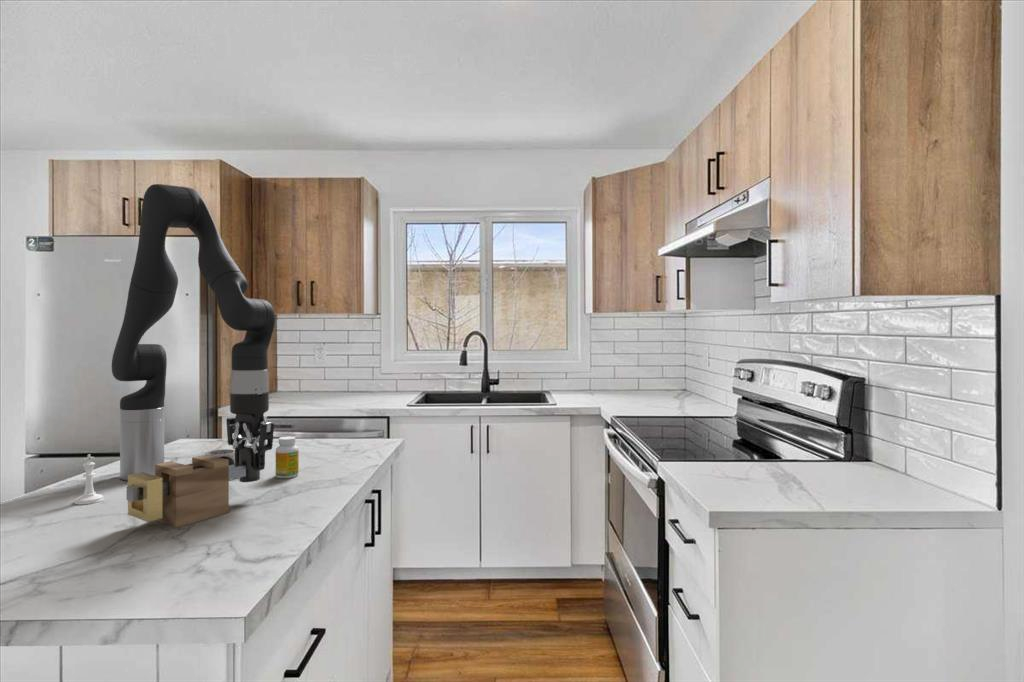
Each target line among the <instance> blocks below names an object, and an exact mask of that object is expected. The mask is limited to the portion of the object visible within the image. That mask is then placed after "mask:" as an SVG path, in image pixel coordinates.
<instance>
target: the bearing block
mask: <svg viewBox="0 0 1024 682" xmlns="http://www.w3.org/2000/svg"><path fill="white" fill-rule="evenodd" d="M155 476H158V477H161V478H162V479H166V478H169V494H166V495H162V518H161V519H157V520H156V521H159V522H161V523H163V524H164V523H165V524H166V525H169V526H172V527H175V528H179V527H182V526H185V525H190V524H193V523H197V522H199V521H203V520H206V519H211V518H215V517H217V516H221V515H224V514H229V513H230V512H229V510H230V509H229V505H230V504H229V501H230V499H229V492H230V491H229V489H230V488H229V487H230V486H229V485H230V484H229V482H230V480H229V460H228V459H223V458H219V457H215V456H210V455H205V454H204V455H197V456H192V458H191V463H186V464H183V463H180V462H176V461H171V460H170V461H164V463H159V464H155Z"/></svg>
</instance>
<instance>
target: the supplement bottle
mask: <svg viewBox="0 0 1024 682" xmlns="http://www.w3.org/2000/svg"><path fill="white" fill-rule="evenodd" d="M296 441H297V440H296V436H282V437H279V438H278V445H279V446H277V447H276V449H275V477H276V478H277V479H292V478H295V477H297V476H298V475H299V465H300V464H299V460H300V459H299V458H300V457H299V455H300V454H299V451H300V450H299V447H298V445H296V443H297V442H296Z"/></svg>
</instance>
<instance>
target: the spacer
mask: <svg viewBox="0 0 1024 682" xmlns="http://www.w3.org/2000/svg"><path fill="white" fill-rule="evenodd" d="M132 485H136V486H139V487H142V488H143V500H140V501H135V502H131V501H129V500H127V516H131V517H133V518H136V519H138V520H142V521H143V522H146V523H149V522H153V521H158V520H157V519H161V518H162V478H161V477H158V476H154V475H151V474H148V473H144V472H141V473H135V474H130V475H128V480H127V486H132Z"/></svg>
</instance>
